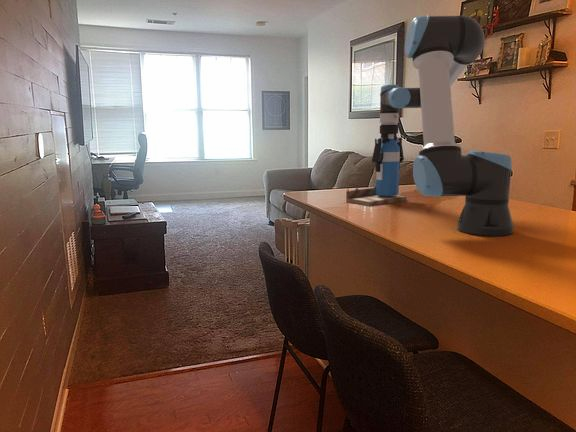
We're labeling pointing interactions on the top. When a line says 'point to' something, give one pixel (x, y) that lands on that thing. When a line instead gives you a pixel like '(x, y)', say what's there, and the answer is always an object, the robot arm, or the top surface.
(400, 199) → the ledge board
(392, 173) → the water bottle
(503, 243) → the top surface
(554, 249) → the top surface
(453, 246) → the top surface
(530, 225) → the top surface
